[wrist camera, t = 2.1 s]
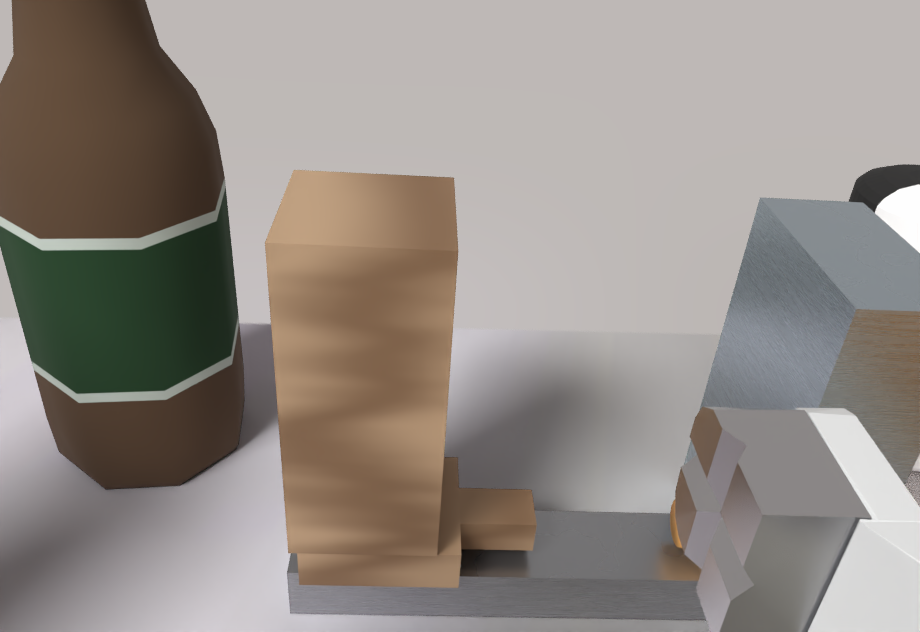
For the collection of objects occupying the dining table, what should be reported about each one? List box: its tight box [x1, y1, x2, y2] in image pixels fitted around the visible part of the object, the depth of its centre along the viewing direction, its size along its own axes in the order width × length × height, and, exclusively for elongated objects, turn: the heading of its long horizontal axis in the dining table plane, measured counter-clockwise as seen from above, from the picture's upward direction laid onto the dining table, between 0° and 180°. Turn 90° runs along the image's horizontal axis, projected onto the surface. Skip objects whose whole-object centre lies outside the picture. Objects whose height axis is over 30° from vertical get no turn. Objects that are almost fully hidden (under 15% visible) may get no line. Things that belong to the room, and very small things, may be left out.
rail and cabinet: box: [287, 198, 920, 620], centre depth 26 cm, size 18×7×13 cm, turn 92°
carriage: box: [265, 170, 537, 588], centre depth 24 cm, size 8×4×12 cm, turn 92°
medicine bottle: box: [849, 165, 920, 472], centre depth 35 cm, size 7×7×12 cm
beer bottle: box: [0, 0, 244, 489], centre depth 27 cm, size 8×8×24 cm
